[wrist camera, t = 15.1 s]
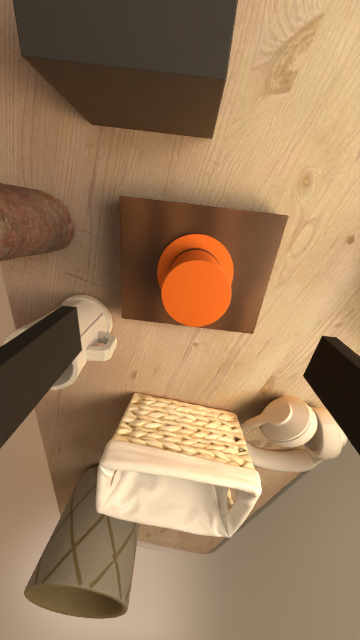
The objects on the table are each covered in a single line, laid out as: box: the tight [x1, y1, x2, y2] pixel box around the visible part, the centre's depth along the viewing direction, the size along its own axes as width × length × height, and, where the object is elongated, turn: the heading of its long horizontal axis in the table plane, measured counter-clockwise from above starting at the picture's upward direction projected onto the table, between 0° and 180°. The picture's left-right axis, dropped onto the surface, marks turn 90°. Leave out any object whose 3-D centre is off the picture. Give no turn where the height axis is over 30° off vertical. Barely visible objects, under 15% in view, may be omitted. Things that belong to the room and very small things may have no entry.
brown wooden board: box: [120, 196, 288, 334], centre depth 29 cm, size 20×16×3 cm
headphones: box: [240, 396, 347, 472], centre depth 40 cm, size 18×8×20 cm
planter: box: [24, 465, 139, 619], centre depth 47 cm, size 19×19×20 cm
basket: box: [96, 393, 262, 538], centre depth 38 cm, size 24×16×15 cm
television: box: [13, 0, 238, 139], centre depth 17 cm, size 14×10×11 cm
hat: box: [157, 234, 233, 327], centre depth 24 cm, size 10×10×9 cm
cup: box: [3, 295, 117, 390], centre depth 29 cm, size 10×9×12 cm
